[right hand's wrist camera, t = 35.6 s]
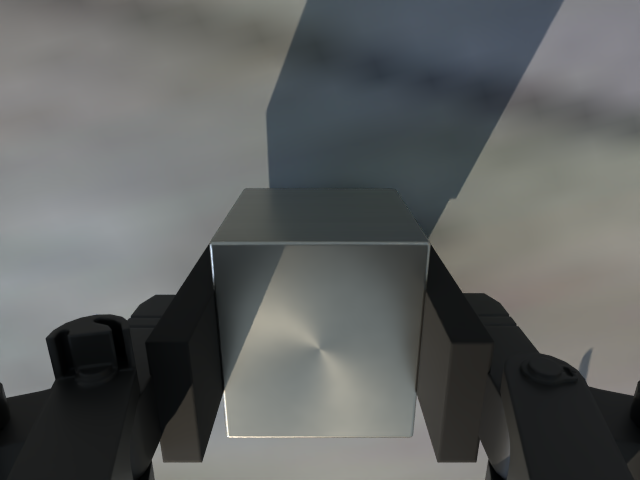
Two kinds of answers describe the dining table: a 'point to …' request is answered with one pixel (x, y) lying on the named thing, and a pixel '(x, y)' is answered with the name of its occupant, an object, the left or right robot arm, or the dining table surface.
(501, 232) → the dining table surface
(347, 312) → the metal block
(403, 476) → the dining table surface
